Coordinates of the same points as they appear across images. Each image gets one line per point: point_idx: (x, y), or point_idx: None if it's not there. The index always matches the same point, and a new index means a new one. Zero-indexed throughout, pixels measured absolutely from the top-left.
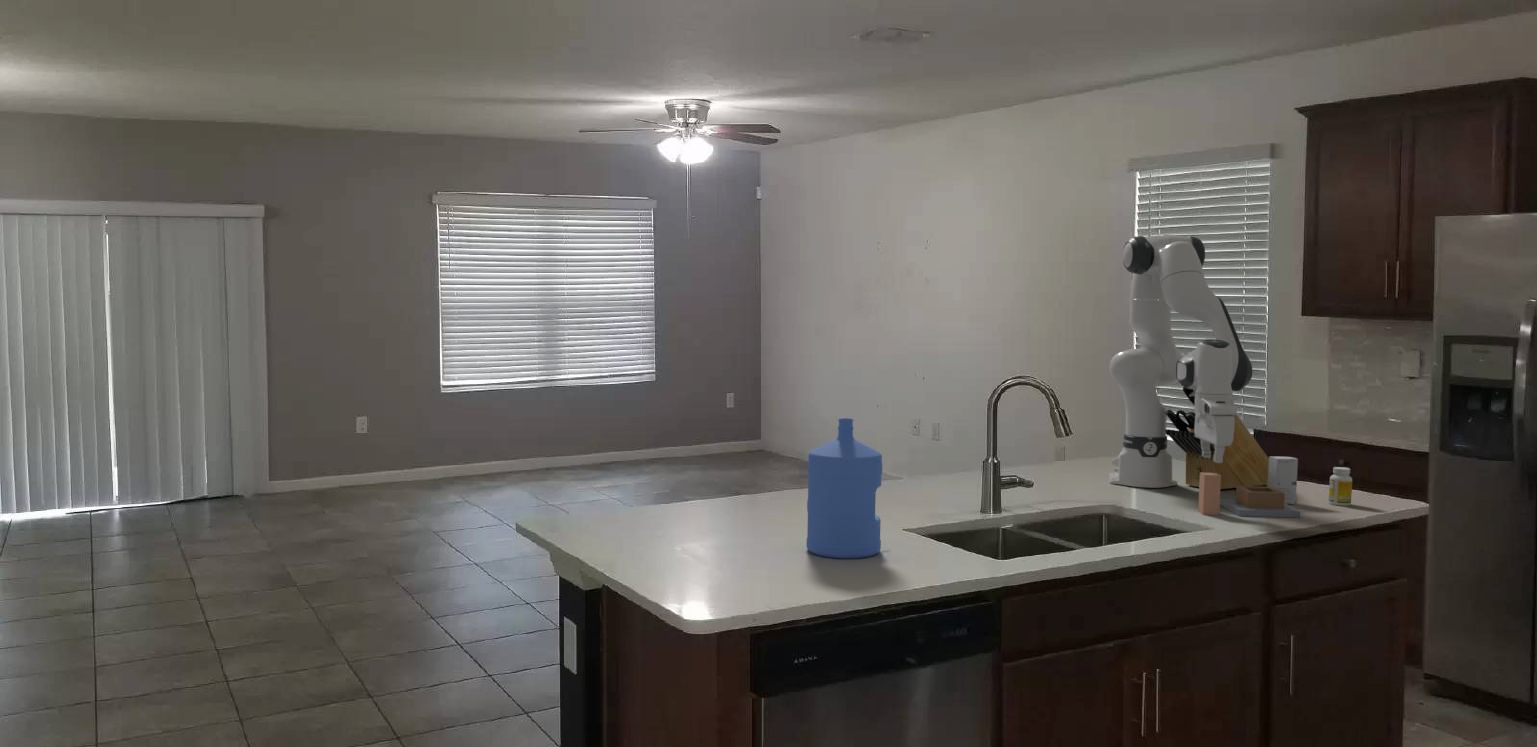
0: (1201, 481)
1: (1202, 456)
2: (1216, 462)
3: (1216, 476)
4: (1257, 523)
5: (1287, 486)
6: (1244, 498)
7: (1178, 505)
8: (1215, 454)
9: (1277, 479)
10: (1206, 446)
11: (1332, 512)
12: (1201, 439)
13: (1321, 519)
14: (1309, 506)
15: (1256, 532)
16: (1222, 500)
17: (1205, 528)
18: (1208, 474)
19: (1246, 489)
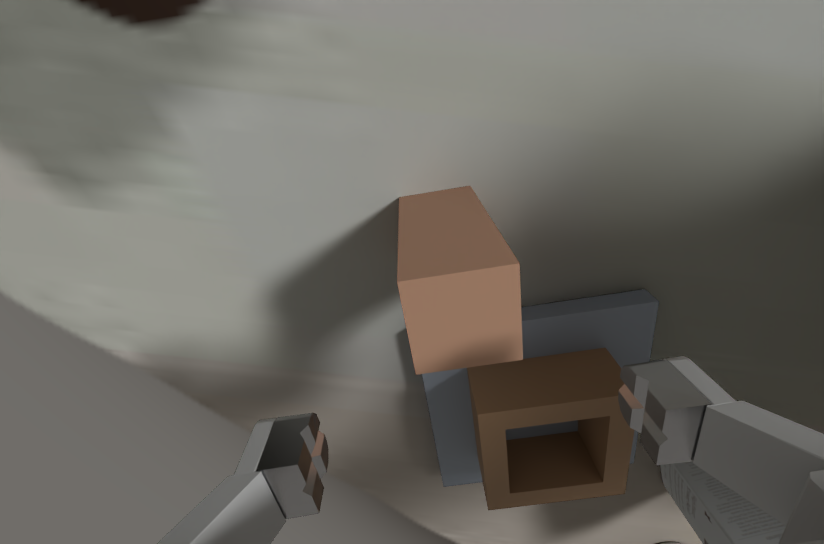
0: (458, 246)
1: (680, 356)
2: (260, 424)
3: (411, 346)
4: (289, 360)
5: (699, 523)
6: (508, 383)
7: (618, 107)
8: (215, 489)
9: (719, 528)
10: (761, 476)
11: (540, 531)
12: (809, 541)
13: (429, 503)
14: (625, 504)
15: (113, 339)
16: (625, 305)
17: (65, 170)
18: (430, 309)
19: (548, 417)
